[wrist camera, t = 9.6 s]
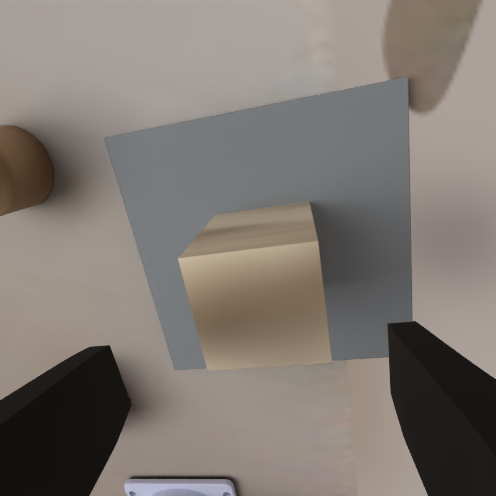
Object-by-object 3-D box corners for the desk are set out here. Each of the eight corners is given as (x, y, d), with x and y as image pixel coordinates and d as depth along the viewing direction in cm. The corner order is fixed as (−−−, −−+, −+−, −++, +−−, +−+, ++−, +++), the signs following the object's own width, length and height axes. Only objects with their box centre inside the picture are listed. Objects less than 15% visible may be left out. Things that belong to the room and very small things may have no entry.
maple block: (319, 288, 16) (331, 363, 11) (232, 297, 17) (207, 370, 12) (309, 201, 15) (317, 241, 10) (215, 214, 16) (177, 258, 10)
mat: (409, 348, 17) (412, 355, 17) (178, 363, 20) (174, 370, 19) (403, 78, 13) (408, 76, 13) (111, 137, 16) (104, 138, 15)
